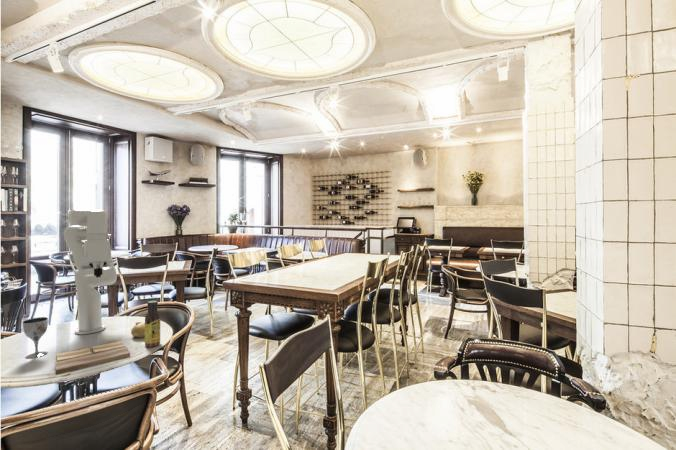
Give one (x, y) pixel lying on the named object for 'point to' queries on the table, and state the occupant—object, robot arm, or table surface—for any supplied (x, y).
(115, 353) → the walnut board
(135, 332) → the onion
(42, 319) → the wine glass
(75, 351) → the oak plank
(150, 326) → the sauce bottle
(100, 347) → the oak plank
